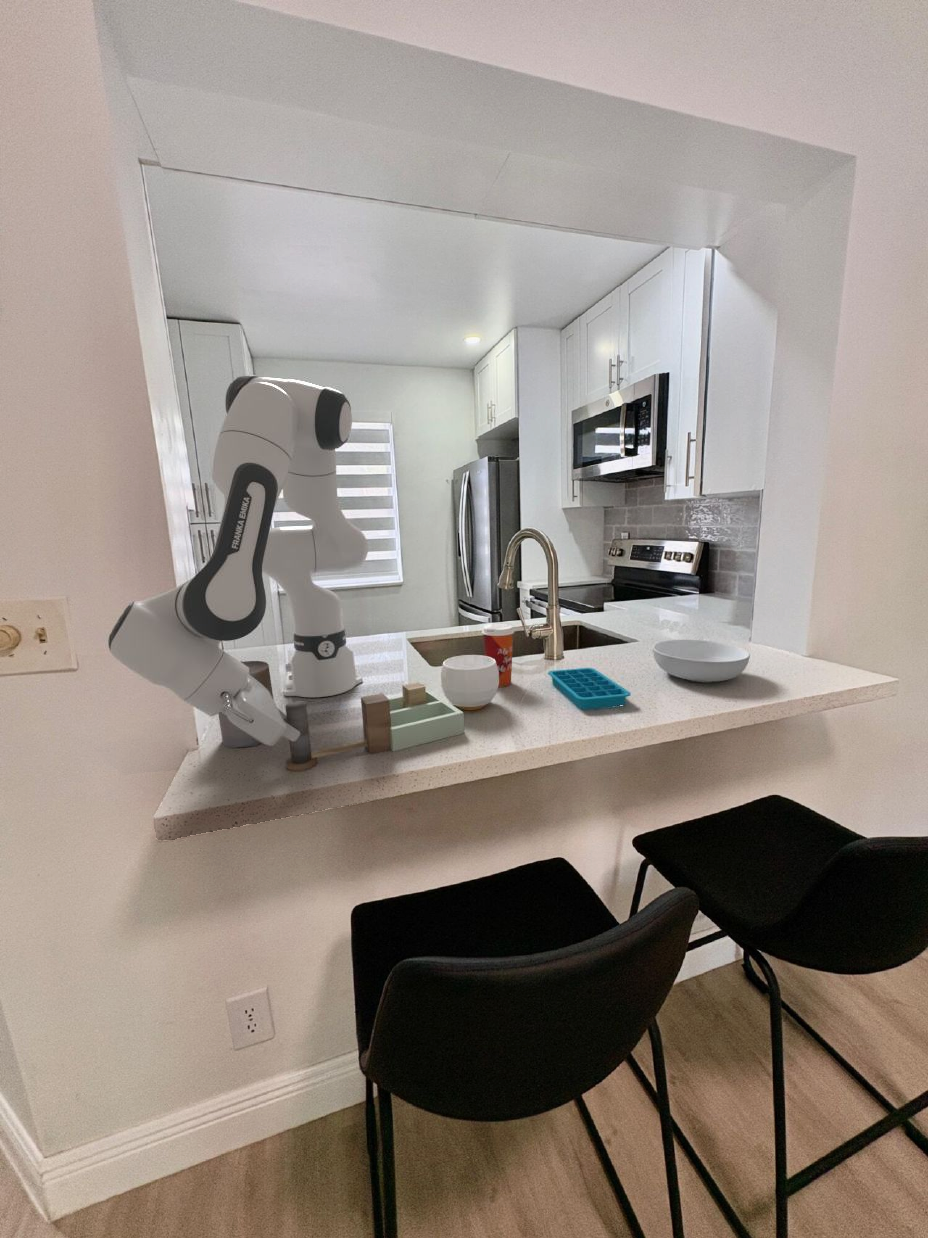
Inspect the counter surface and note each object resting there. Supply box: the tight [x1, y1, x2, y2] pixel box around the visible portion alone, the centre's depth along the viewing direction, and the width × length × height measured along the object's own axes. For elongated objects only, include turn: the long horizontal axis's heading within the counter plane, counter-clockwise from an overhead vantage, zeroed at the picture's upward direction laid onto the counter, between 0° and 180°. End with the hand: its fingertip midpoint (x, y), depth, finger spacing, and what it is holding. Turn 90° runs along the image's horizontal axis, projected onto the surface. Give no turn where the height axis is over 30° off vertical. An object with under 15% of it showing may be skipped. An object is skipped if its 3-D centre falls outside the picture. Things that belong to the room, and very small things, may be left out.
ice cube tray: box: [547, 667, 631, 711], centre depth 111 cm, size 12×20×3 cm, turn 10°
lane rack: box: [387, 689, 465, 752], centre depth 95 cm, size 15×14×4 cm
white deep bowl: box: [440, 654, 499, 711], centre depth 105 cm, size 12×12×10 cm
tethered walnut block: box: [284, 692, 392, 772], centre depth 84 cm, size 5×18×10 cm, turn 115°
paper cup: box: [481, 623, 515, 688], centre depth 119 cm, size 8×8×14 cm
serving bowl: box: [652, 639, 751, 683], centre depth 119 cm, size 21×21×7 cm
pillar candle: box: [217, 660, 275, 749], centre depth 93 cm, size 10×10×15 cm
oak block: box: [401, 681, 427, 708], centre depth 99 cm, size 4×4×7 cm
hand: (294, 731), depth 81 cm, fingers closed on tethered walnut block, 3 cm apart
